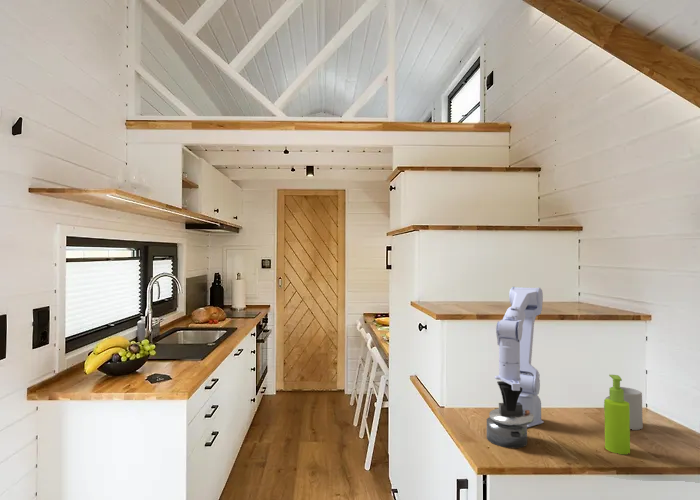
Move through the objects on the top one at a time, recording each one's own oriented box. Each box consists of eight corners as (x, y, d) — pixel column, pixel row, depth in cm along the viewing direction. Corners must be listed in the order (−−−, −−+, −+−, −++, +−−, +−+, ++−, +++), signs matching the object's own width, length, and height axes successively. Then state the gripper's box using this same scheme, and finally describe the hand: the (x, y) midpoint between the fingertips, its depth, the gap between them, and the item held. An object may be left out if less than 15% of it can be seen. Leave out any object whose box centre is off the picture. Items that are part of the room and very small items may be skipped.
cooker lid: (485, 411, 129) (484, 398, 129) (526, 410, 128) (525, 397, 128) (494, 426, 117) (493, 411, 118) (539, 425, 116) (538, 410, 116)
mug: (627, 419, 140) (626, 386, 141) (649, 429, 132) (649, 393, 132) (595, 421, 138) (594, 387, 139) (615, 431, 130) (615, 395, 130)
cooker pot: (479, 430, 129) (479, 414, 130) (515, 430, 130) (514, 413, 130) (497, 450, 115) (497, 431, 116) (536, 450, 116) (536, 431, 116)
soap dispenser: (625, 445, 119) (624, 374, 120) (633, 455, 113) (631, 380, 114) (601, 442, 121) (600, 372, 122) (607, 452, 115) (606, 378, 116)
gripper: (489, 356, 131) (489, 400, 130) (501, 366, 117) (501, 416, 116) (513, 356, 130) (513, 401, 130) (527, 367, 116) (528, 418, 115)
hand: (509, 408), depth 123 cm, fingers closed on cooker lid, 2 cm apart
